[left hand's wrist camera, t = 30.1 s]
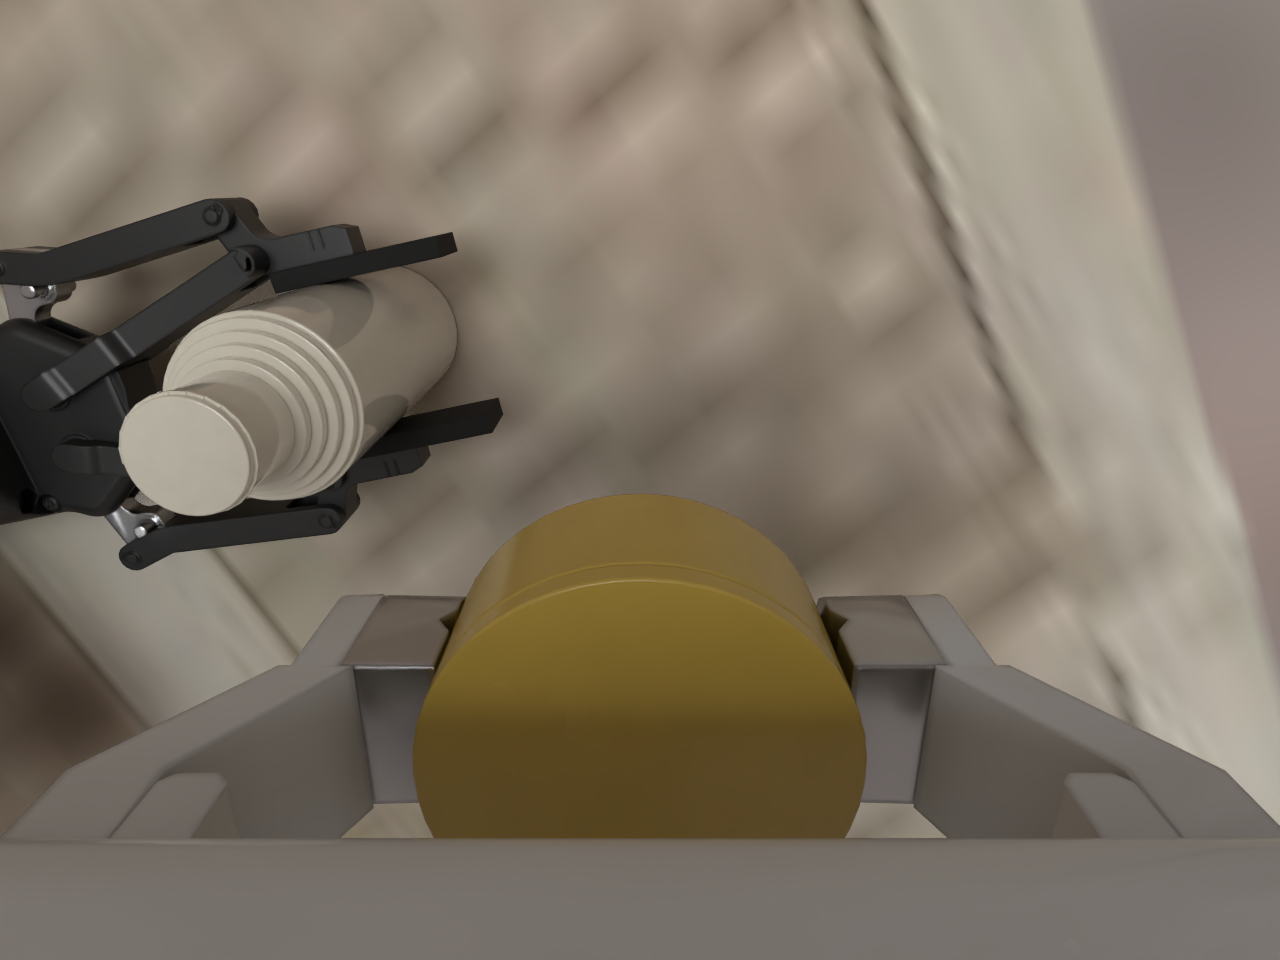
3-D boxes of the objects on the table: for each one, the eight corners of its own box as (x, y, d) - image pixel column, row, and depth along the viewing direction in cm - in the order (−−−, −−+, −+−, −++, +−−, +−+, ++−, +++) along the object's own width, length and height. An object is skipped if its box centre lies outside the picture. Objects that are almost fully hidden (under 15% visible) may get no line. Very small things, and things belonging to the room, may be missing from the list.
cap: (722, 423, 9) (746, 495, 7) (879, 721, 10) (935, 848, 8) (382, 596, 10) (317, 704, 8) (573, 850, 11) (560, 995, 9)
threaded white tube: (453, 266, 37) (287, 342, 20) (461, 396, 39) (318, 567, 22) (318, 263, 37) (35, 336, 20) (334, 394, 39) (91, 562, 22)
